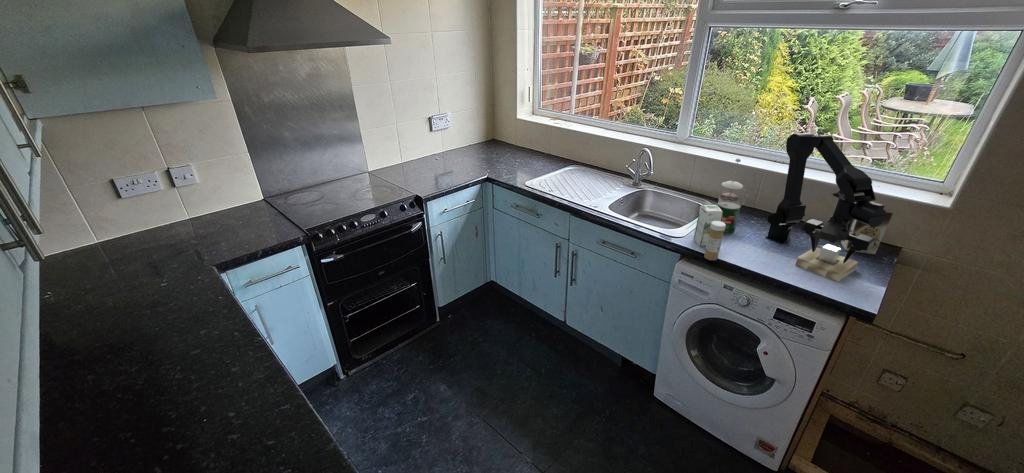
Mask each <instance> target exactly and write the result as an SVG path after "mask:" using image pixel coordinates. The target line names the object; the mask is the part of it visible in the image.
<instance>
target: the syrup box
mask: <svg viewBox="0 0 1024 473" xmlns="http://www.w3.org/2000/svg"><path fill="white" fill-rule="evenodd" d="M717 205H718V204H717ZM717 205H716V204H706V205H705V204H702V205H700V207H699V211H698V212H699V213H698V215H697V216H698V217H697V221H696V224H695V225H696V226H695V231H694V236H693V240H694V241H695V242H694V243H696V244H697V245H698V246H699V247H706V245H707V241H708V237H709V233H710V226H711V222H713V221H721V217H722V213H723V211H722V210H721V209H720V208H719V207H718V206H717Z"/></svg>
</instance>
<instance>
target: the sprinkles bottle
mask: <svg viewBox="0 0 1024 473" xmlns="http://www.w3.org/2000/svg"><path fill="white" fill-rule="evenodd" d="M725 226H726V224H725V223H723V222H721V221H713V222H711V226H710V233H709V237H708V241H707V245H706V246H705V252H704V256H703V257H704V258H705V259H706V260H708V261H717V260H718V258H719V253H720V250H721V246H722V240H723V237H724V234H723V233H724V230H725Z"/></svg>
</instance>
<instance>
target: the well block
mask: <svg viewBox="0 0 1024 473" xmlns="http://www.w3.org/2000/svg"><path fill="white" fill-rule="evenodd" d="M821 249H822V248H820V247H817V248H816V250H815V251H814V252H812V248H811V249H810V250H807V251H806V252H805V253H802V254H801V255H799V256H797V258H796V261H795V264H794V266H796V267H799V268H801V269H804V270H806V271H809V272H811V273H814V274H816V275H819V276H821V277H824V278H826V279H829V280H831V281H835V282H837V283H839V282H840V281H842V280H843V279H845V278H846V277H847V276H849V275H850V274H851V273H853V272H854V271H856V269H857V266H858V263H859V261H856V260H854V259H851V258H849V259H848V260H847V262H845V263H843V261H844V259H845V257H846V256H842V255H840V254H839V256H838V259H837V261H836V264H835V265H834V266H833V265H830V264H827V263H825V262H822V261H819V260H818V258H819V255H820V252H821Z"/></svg>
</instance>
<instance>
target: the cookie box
mask: <svg viewBox="0 0 1024 473" xmlns="http://www.w3.org/2000/svg"><path fill="white" fill-rule="evenodd" d="M883 210H885V211H886V219H885V220H884V222H883V223H882V224H880V225H879V226H877V227H870V226H868V225H866V224H864V223H862V222H859V221H857V220H854V222H853V224H852V227H851V231H850V232H849V234H850V235H854V236H859V235H860V234H863V235H866V236H869V237H873V238H874V239H875V243H874V245H873V246H872V247H871V248H869V249H868V250H867V251H866V250H862V251H856V252H855V253H863V254H871V255H876V254H877V251H878V249H879V247H880V245H881V242H882V240H883V237H884V235H885V232H886V230H887V228H888V225H889V223H890V222H891V221H890V220H891V219H892V217H893V212H892V211H891V210H890V209H889V208H888V207H886V206H884V209H883ZM840 243H841V245H842V247H843V249H844V250H845V251H847V252H848V251H849V248H850V246H852V243H853V242H852V241H849V240H845V241H842V240H841V241H840Z"/></svg>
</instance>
